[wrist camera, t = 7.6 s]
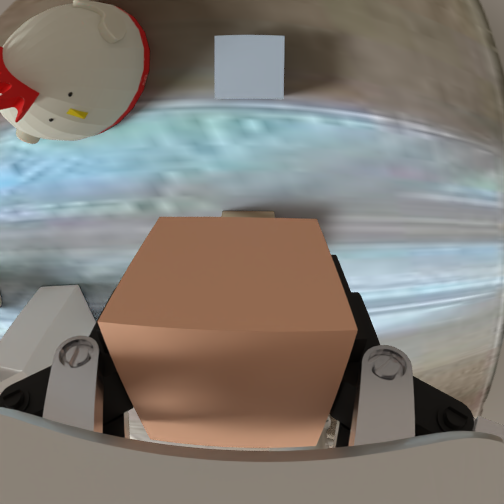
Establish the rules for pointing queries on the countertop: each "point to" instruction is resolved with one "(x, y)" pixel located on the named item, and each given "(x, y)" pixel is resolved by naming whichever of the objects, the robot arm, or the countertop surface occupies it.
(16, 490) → the robot arm
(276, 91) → the slate block
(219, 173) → the countertop surface
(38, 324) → the milk carton
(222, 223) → the terracotta block
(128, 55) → the kitchen timer
